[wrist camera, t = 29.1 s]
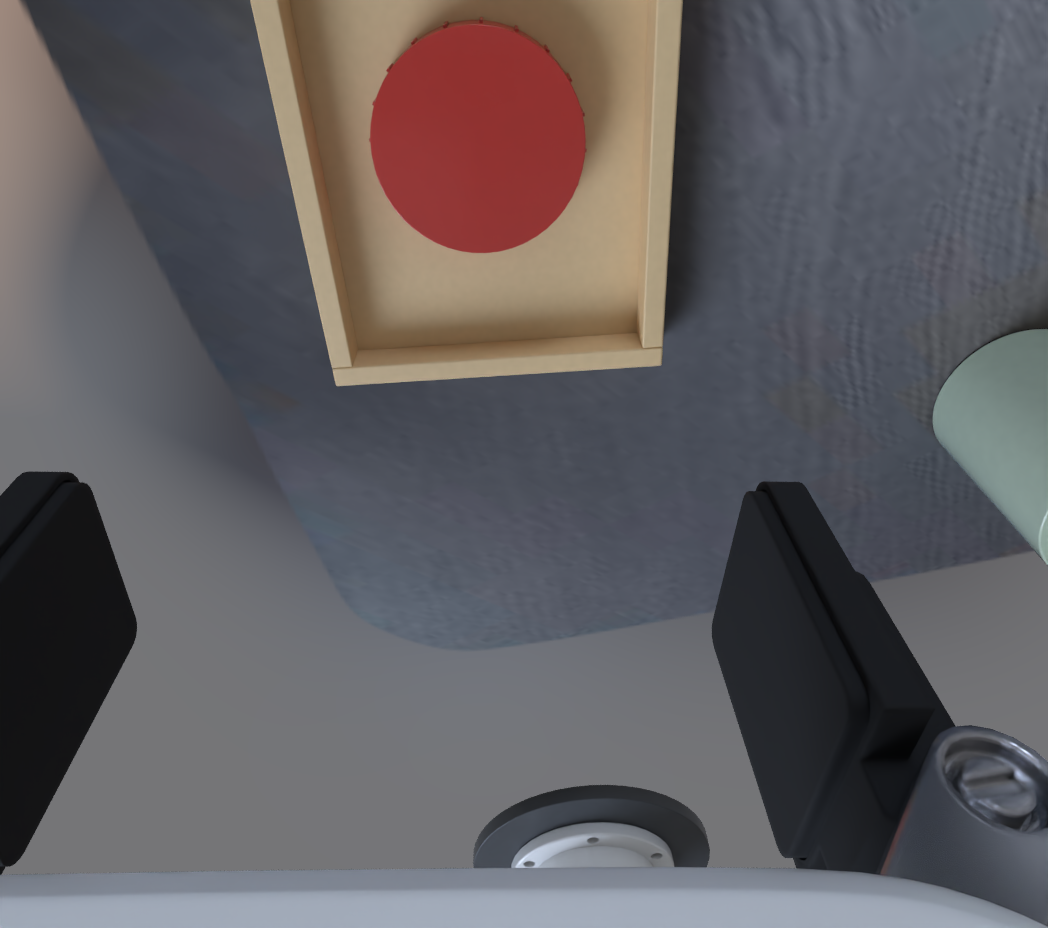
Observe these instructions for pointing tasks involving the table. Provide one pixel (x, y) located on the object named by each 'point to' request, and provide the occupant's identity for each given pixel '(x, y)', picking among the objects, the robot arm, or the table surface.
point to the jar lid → (478, 136)
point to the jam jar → (1003, 428)
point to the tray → (480, 278)
